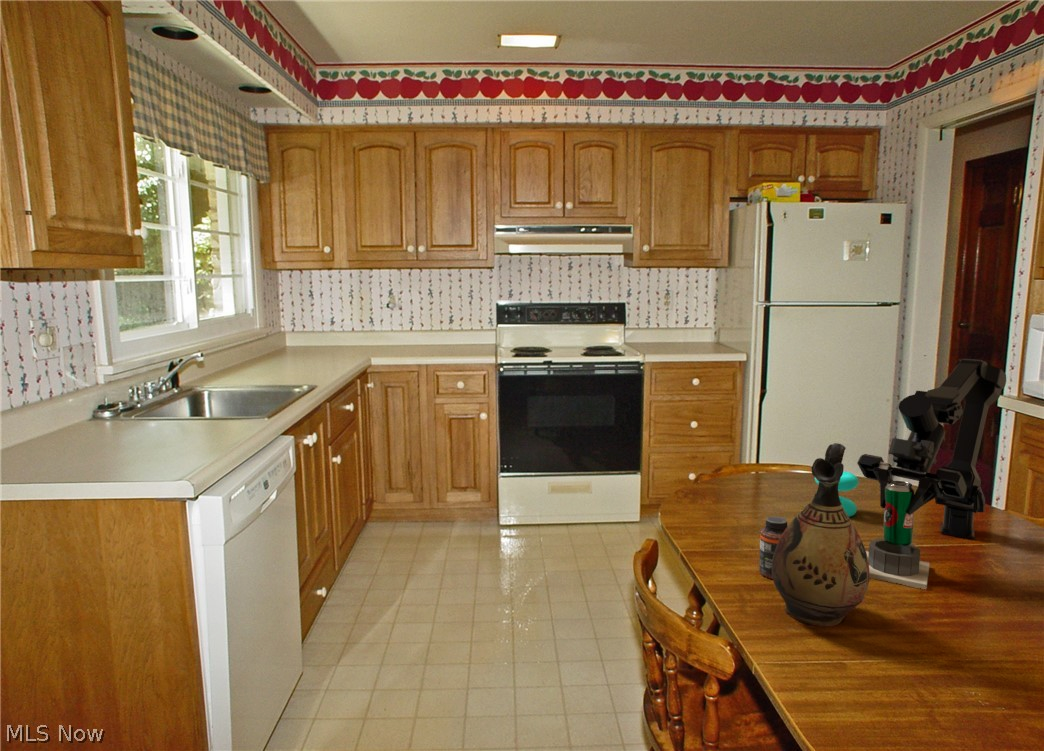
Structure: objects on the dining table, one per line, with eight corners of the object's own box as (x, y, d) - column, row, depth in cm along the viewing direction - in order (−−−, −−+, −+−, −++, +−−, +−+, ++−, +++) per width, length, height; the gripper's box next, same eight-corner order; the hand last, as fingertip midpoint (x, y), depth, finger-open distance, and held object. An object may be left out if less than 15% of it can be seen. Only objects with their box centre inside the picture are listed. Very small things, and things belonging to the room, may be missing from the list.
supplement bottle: (790, 570, 135) (792, 516, 133) (791, 582, 129) (794, 526, 128) (758, 566, 137) (760, 513, 135) (758, 578, 131) (761, 522, 130)
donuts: (811, 475, 166) (818, 466, 174) (809, 514, 167) (816, 503, 176) (856, 481, 161) (861, 471, 169) (853, 521, 162) (858, 510, 170)
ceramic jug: (861, 646, 106) (874, 463, 102) (761, 621, 114) (768, 450, 110) (871, 603, 121) (882, 440, 117) (781, 583, 129) (789, 431, 125)
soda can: (909, 548, 129) (911, 488, 128) (880, 543, 133) (882, 484, 131) (914, 541, 133) (916, 482, 132) (886, 536, 137) (888, 478, 135)
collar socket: (863, 554, 142) (864, 532, 142) (929, 567, 136) (931, 543, 135) (855, 575, 132) (857, 550, 132) (926, 589, 126) (928, 564, 125)
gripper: (864, 415, 140) (835, 477, 134) (965, 430, 125) (937, 500, 120) (879, 446, 146) (851, 506, 140) (977, 464, 131) (951, 531, 126)
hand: (894, 510), depth 132 cm, fingers closed on soda can, 5 cm apart
